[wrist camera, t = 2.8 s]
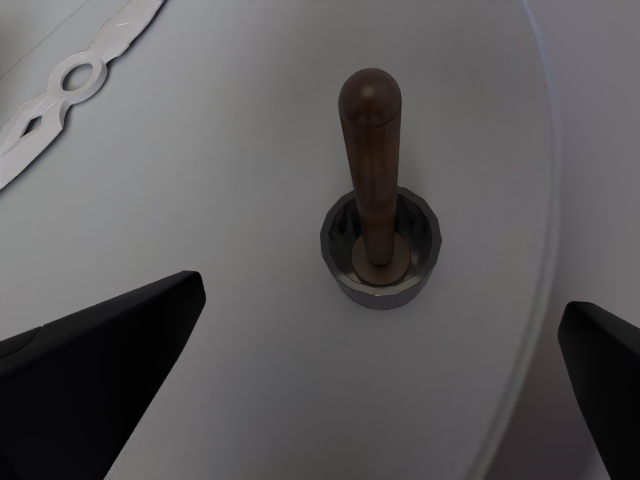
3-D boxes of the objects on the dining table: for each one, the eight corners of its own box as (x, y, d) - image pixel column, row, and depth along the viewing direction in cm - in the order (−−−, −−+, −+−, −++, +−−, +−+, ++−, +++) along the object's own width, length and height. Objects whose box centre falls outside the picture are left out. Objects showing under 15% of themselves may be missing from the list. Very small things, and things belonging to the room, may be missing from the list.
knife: (183, 3, 31) (178, -6, 30) (-51, 262, 26) (-64, 259, 25) (139, -13, 33) (134, -22, 32) (-86, 225, 28) (-99, 221, 27)
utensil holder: (448, 281, 19) (466, 258, 15) (361, 327, 19) (354, 317, 15) (397, 204, 21) (400, 165, 17) (319, 246, 21) (301, 217, 17)
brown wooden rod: (420, 271, 19) (485, 93, 6) (369, 298, 19) (333, 175, 6) (390, 224, 20) (396, -2, 8) (342, 250, 20) (269, 66, 8)
